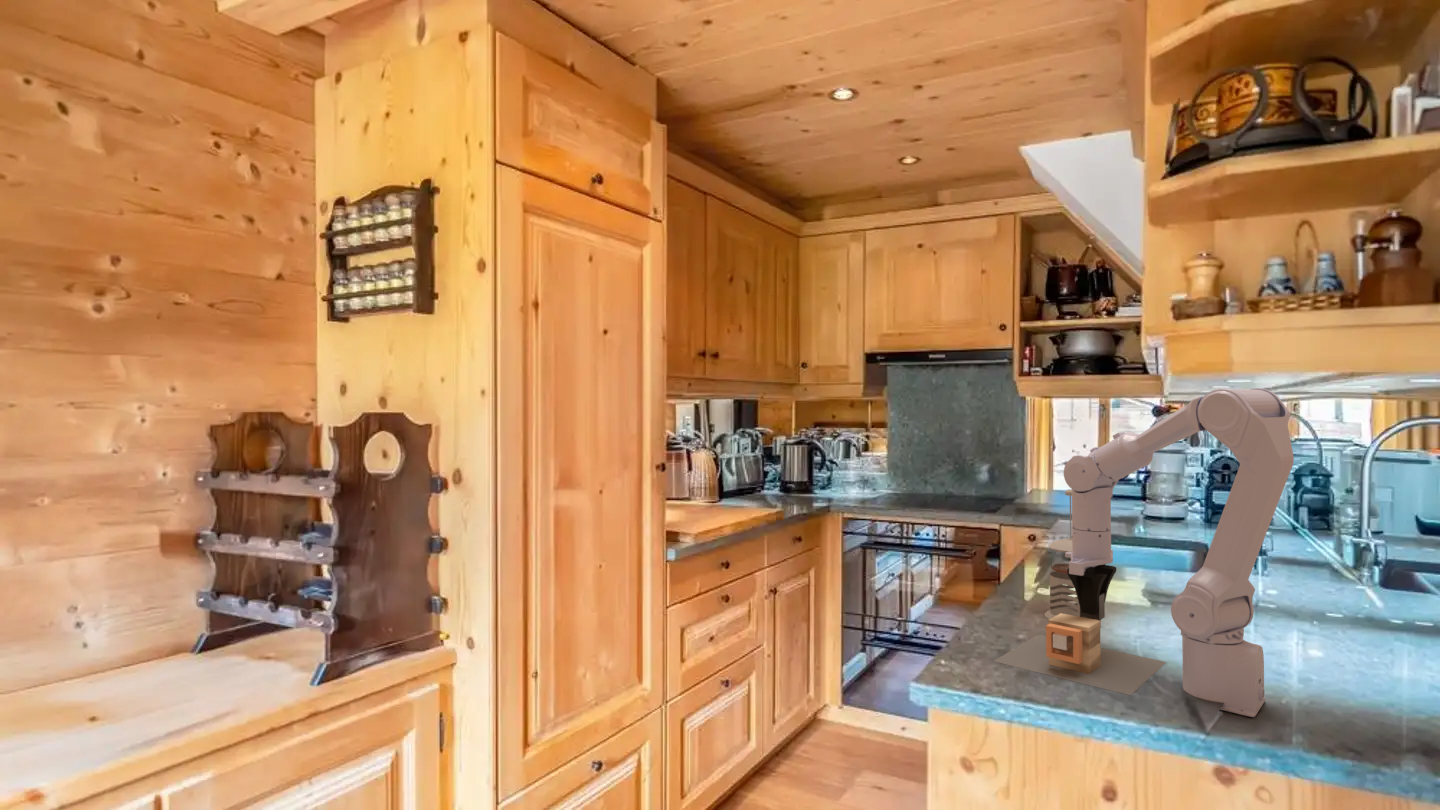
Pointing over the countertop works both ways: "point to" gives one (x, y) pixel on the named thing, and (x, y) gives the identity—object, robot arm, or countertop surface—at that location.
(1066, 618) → the bearing block
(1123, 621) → the countertop surface
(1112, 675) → the mounting plate
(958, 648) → the countertop surface
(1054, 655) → the spacer
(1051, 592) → the french press
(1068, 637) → the shaft
